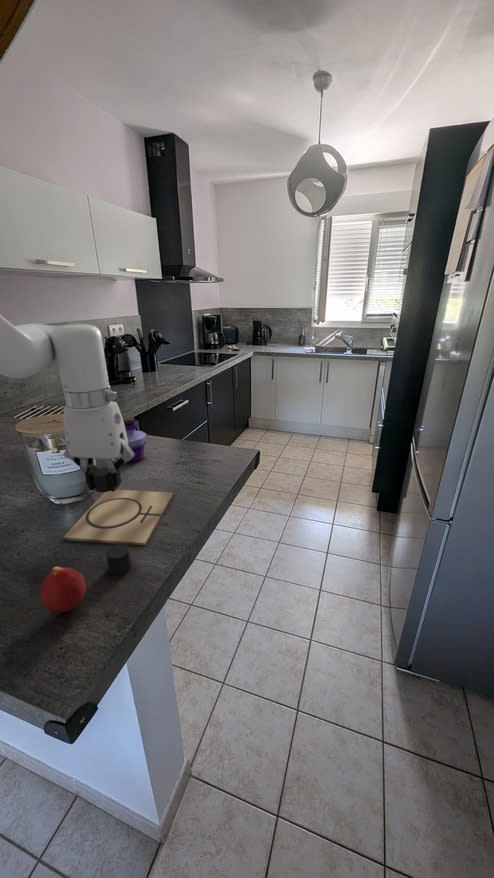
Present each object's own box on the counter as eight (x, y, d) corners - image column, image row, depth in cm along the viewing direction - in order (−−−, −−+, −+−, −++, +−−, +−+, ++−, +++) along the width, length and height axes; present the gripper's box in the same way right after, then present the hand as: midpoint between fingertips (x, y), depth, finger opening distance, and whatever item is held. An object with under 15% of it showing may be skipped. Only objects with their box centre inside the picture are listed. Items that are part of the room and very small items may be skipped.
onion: (73, 588, 56) (63, 547, 53) (97, 603, 54) (88, 561, 51) (38, 615, 52) (24, 572, 49) (62, 632, 49) (50, 588, 46)
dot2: (105, 574, 59) (102, 557, 58) (115, 559, 62) (112, 543, 61) (126, 576, 59) (123, 559, 57) (134, 561, 62) (132, 544, 61)
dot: (92, 492, 69) (88, 475, 67) (101, 483, 72) (98, 467, 71) (109, 493, 68) (106, 476, 67) (118, 483, 72) (115, 467, 70)
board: (63, 539, 67) (62, 537, 67) (107, 491, 84) (107, 488, 84) (144, 545, 66) (144, 542, 66) (173, 494, 82) (173, 492, 82)
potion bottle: (110, 461, 99) (104, 420, 94) (132, 450, 106) (127, 411, 101) (134, 467, 95) (128, 425, 91) (155, 455, 102) (151, 416, 98)
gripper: (141, 392, 66) (152, 480, 73) (57, 391, 67) (75, 476, 74) (124, 404, 59) (138, 499, 66) (31, 402, 61) (54, 495, 68)
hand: (105, 486), depth 70 cm, fingers closed on dot, 3 cm apart
